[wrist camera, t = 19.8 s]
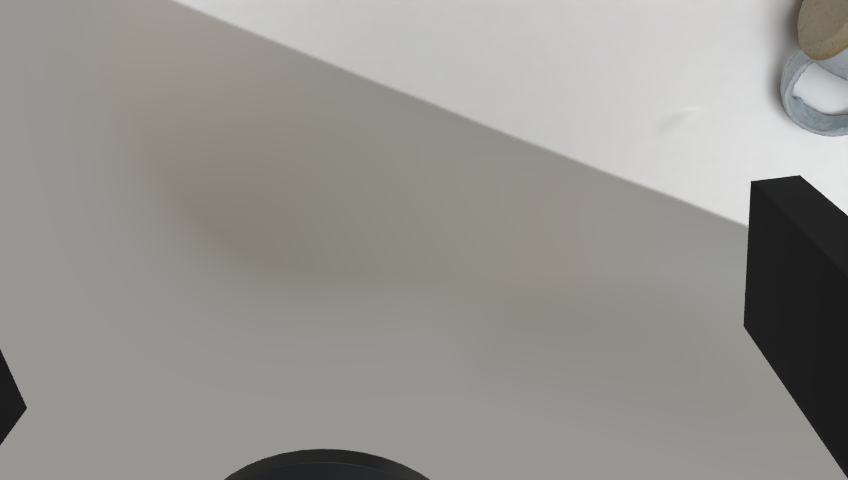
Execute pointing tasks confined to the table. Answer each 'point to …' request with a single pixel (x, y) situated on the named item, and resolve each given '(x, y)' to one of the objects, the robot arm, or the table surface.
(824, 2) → the ceramic mug
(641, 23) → the table surface
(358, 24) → the table surface
